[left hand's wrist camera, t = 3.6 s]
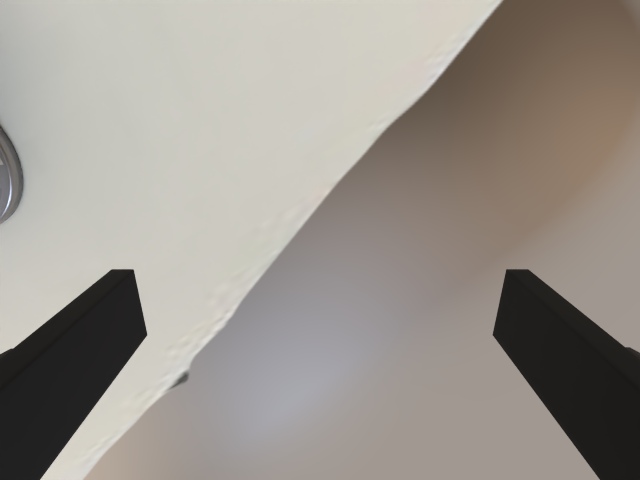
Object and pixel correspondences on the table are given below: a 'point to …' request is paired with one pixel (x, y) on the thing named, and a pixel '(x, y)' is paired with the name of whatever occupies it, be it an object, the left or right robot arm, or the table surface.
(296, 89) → the table surface
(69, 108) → the table surface
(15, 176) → the left robot arm
